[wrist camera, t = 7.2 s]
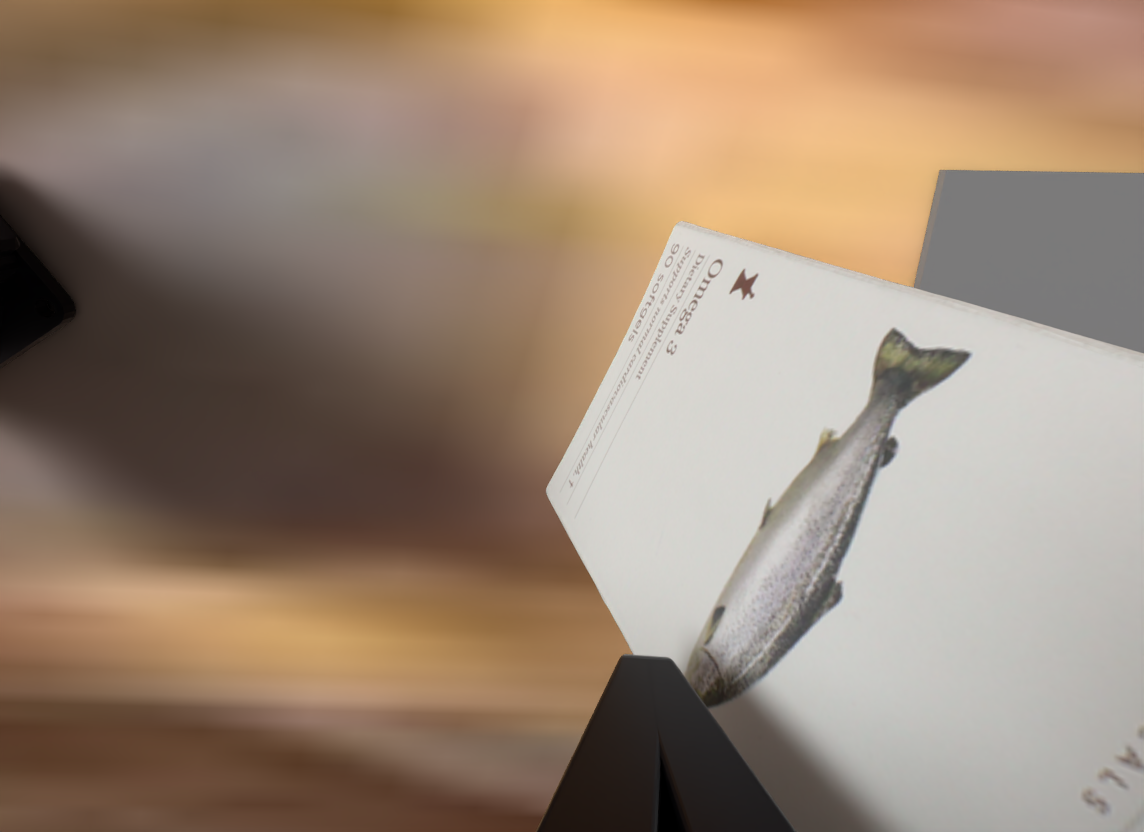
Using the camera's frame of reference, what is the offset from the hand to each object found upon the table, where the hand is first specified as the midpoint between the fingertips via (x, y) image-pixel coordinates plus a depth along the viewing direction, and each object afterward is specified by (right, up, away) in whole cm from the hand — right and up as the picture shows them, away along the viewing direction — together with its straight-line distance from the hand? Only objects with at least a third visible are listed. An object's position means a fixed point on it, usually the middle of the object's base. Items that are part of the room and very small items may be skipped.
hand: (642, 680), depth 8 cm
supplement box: (+3, +4, +8) cm, 9 cm away
